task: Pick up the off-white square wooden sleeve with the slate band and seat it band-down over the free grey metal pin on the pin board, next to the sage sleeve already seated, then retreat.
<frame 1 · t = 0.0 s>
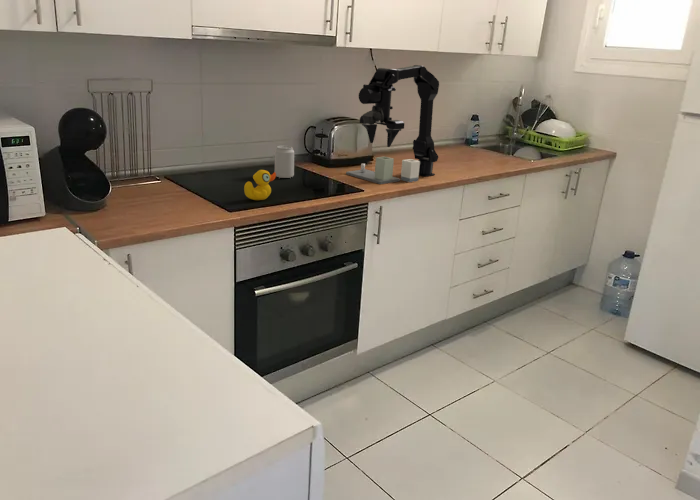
hand: (379, 144, 223), 15 cm above the counter, fingers open, 9 cm apart
can: (284, 177, 228), on the counter
duckling: (259, 200, 195), on the counter
sleeve: (409, 180, 235), on the counter
pin board: (372, 177, 236), on the counter
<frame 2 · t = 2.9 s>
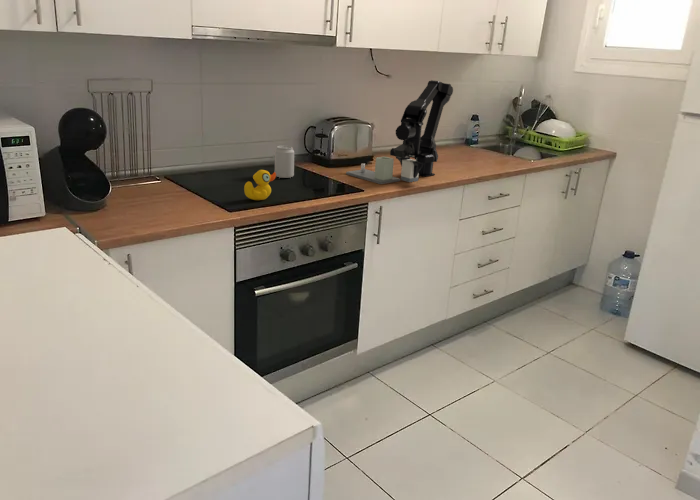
hand: (409, 176, 234), 2 cm above the counter, fingers closed on sleeve, 5 cm apart
sleeve: (409, 180, 235), on the counter, touching gripper
everything else where it was.
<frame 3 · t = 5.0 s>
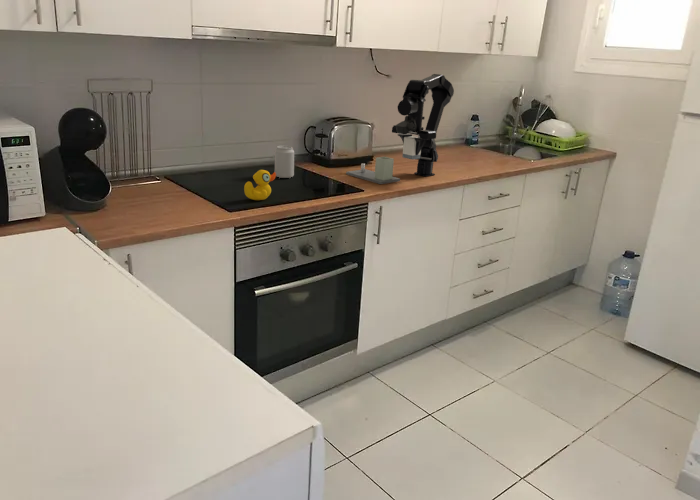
hand: (411, 153, 231), 11 cm above the counter, fingers closed on sleeve, 5 cm apart
sleeve: (411, 157, 232), point 9 cm above the counter, touching gripper
everything else where it was.
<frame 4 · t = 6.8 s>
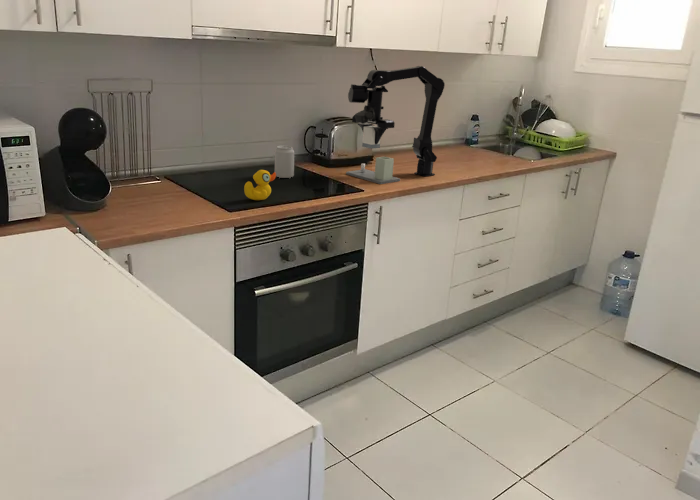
hand: (371, 143, 234), 13 cm above the counter, fingers closed on sleeve, 5 cm apart
sleeve: (370, 147, 235), point 12 cm above the counter, touching gripper
everything else where it was.
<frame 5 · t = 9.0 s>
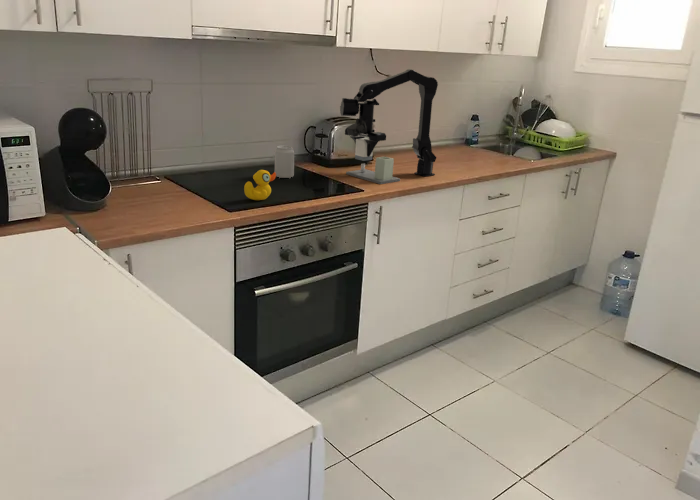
hand: (363, 155, 237), 8 cm above the counter, fingers closed on sleeve, 5 cm apart
sleeve: (363, 159, 238), point 6 cm above the counter, touching gripper
everything else where it was.
when the fingers open (4 cm above the counter, at t = 10.8 s): sleeve stays where it is, resting on pin board.
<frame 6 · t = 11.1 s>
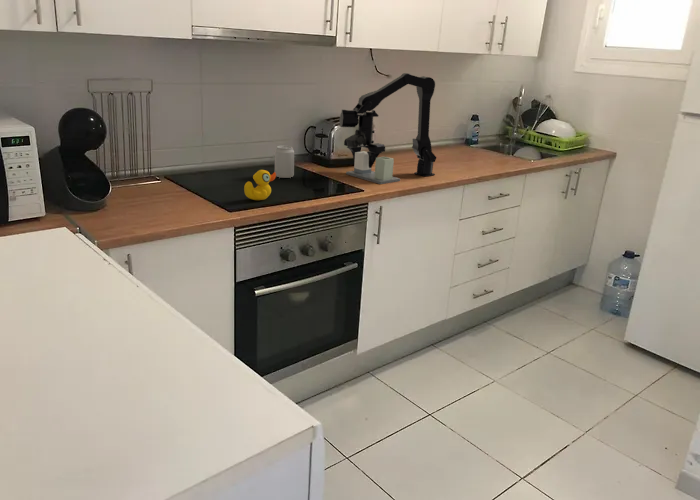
hand: (363, 166, 239), 4 cm above the counter, fingers open, 8 cm apart
sleeve: (362, 172, 239), point 1 cm above the counter, touching pin board
everything else where it was.
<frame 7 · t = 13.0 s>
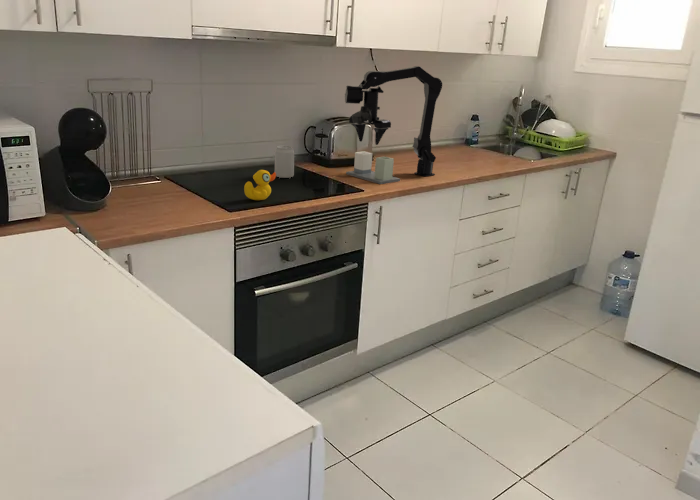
hand: (368, 143, 238), 13 cm above the counter, fingers open, 9 cm apart
nothing on the counter moved.
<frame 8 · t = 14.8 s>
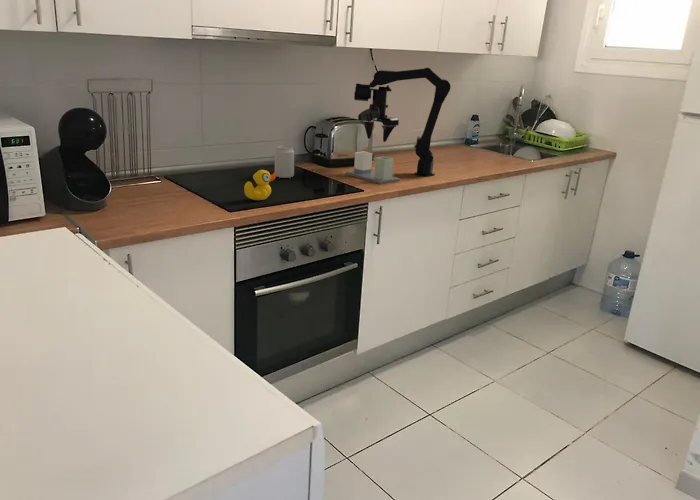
hand: (376, 140, 244), 13 cm above the counter, fingers open, 9 cm apart
nothing on the counter moved.
at the end: sleeve 0.0 cm from the target spot on the pin board, point 1.0 cm above the pin board's base; sleeve tilted 0°; the gripper is holding nothing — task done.
